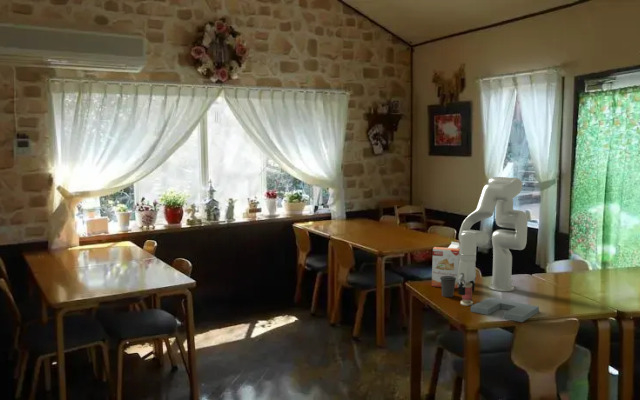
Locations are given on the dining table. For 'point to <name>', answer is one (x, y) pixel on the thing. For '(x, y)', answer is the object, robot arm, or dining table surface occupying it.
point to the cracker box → (445, 264)
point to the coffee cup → (447, 285)
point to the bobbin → (467, 295)
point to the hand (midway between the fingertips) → (466, 293)
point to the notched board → (514, 308)
